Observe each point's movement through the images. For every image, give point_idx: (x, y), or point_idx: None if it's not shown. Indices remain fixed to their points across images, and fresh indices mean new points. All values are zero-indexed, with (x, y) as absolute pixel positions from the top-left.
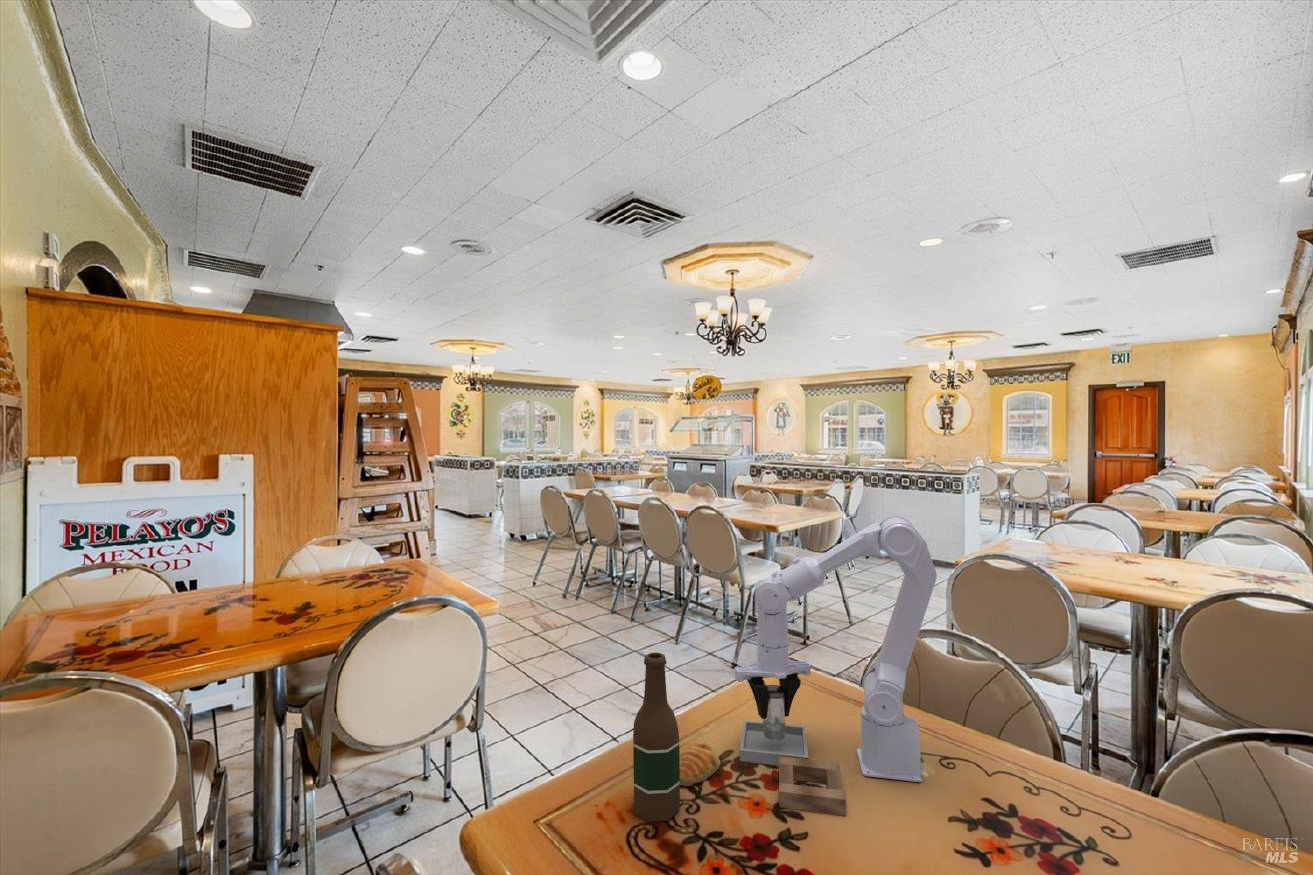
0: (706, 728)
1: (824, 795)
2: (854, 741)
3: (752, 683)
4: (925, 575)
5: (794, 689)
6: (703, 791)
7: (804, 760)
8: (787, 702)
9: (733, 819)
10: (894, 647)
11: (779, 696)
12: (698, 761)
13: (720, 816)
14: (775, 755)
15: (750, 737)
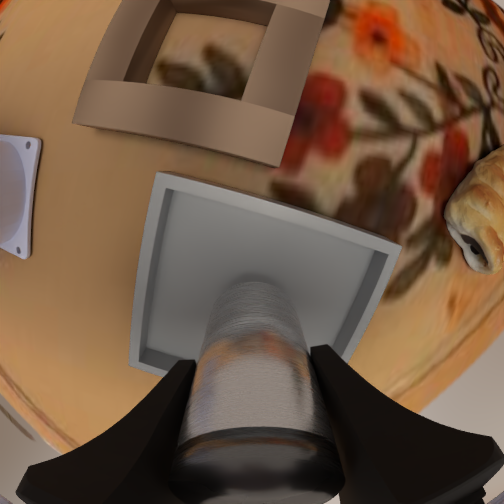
0: (399, 387)
1: None
2: (34, 303)
3: (482, 486)
4: None
5: (82, 463)
6: (479, 123)
7: (181, 129)
8: (166, 407)
9: (428, 18)
10: None
11: (230, 440)
12: None
13: (450, 36)
14: (282, 204)
15: None
